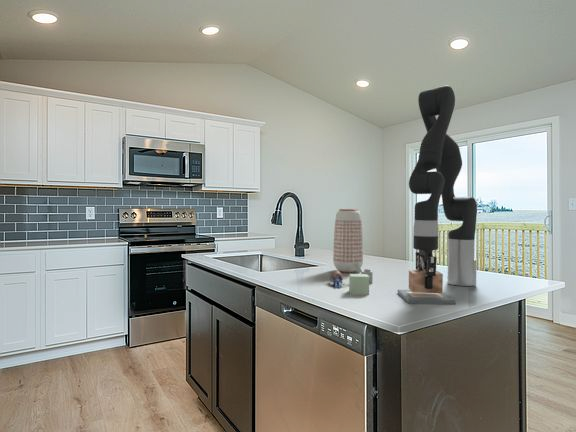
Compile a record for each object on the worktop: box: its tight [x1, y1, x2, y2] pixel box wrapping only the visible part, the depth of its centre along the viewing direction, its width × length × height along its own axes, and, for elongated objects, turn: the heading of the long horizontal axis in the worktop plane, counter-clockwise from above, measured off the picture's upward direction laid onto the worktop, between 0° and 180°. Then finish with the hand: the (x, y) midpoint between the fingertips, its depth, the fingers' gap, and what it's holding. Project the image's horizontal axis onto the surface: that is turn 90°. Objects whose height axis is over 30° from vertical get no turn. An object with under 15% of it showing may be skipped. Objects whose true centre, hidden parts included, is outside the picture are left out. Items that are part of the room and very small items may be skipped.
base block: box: [408, 269, 444, 293], centre depth 124 cm, size 9×6×6 cm
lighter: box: [354, 262, 374, 284], centre depth 149 cm, size 7×2×8 cm, turn 74°
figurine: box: [329, 269, 346, 289], centre depth 145 cm, size 6×5×12 cm
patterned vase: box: [332, 208, 364, 274], centre depth 175 cm, size 13×13×28 cm
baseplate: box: [397, 289, 457, 305], centre depth 124 cm, size 14×14×1 cm
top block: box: [348, 273, 370, 295], centre depth 132 cm, size 6×5×6 cm
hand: (425, 286), depth 124 cm, fingers closed on base block, 6 cm apart
